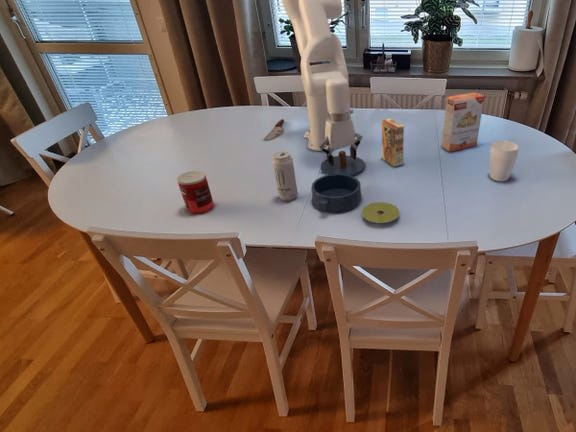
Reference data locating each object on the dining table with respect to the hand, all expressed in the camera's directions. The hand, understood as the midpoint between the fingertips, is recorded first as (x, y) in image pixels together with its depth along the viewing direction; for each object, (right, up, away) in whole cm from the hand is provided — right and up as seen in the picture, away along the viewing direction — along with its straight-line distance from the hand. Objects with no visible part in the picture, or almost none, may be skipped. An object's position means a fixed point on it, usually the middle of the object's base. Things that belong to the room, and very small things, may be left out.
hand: (342, 161), depth 143 cm
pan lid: (0, -2, +1) cm, 2 cm away
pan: (0, -15, -18) cm, 23 cm away
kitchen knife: (-32, +18, +31) cm, 48 cm away
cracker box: (+46, +8, +17) cm, 50 cm away
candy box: (+19, 0, +5) cm, 19 cm away
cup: (+56, -6, -5) cm, 57 cm away
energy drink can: (-16, -14, -16) cm, 26 cm away
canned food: (-42, -18, -21) cm, 50 cm away
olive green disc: (+14, -21, -26) cm, 36 cm away
